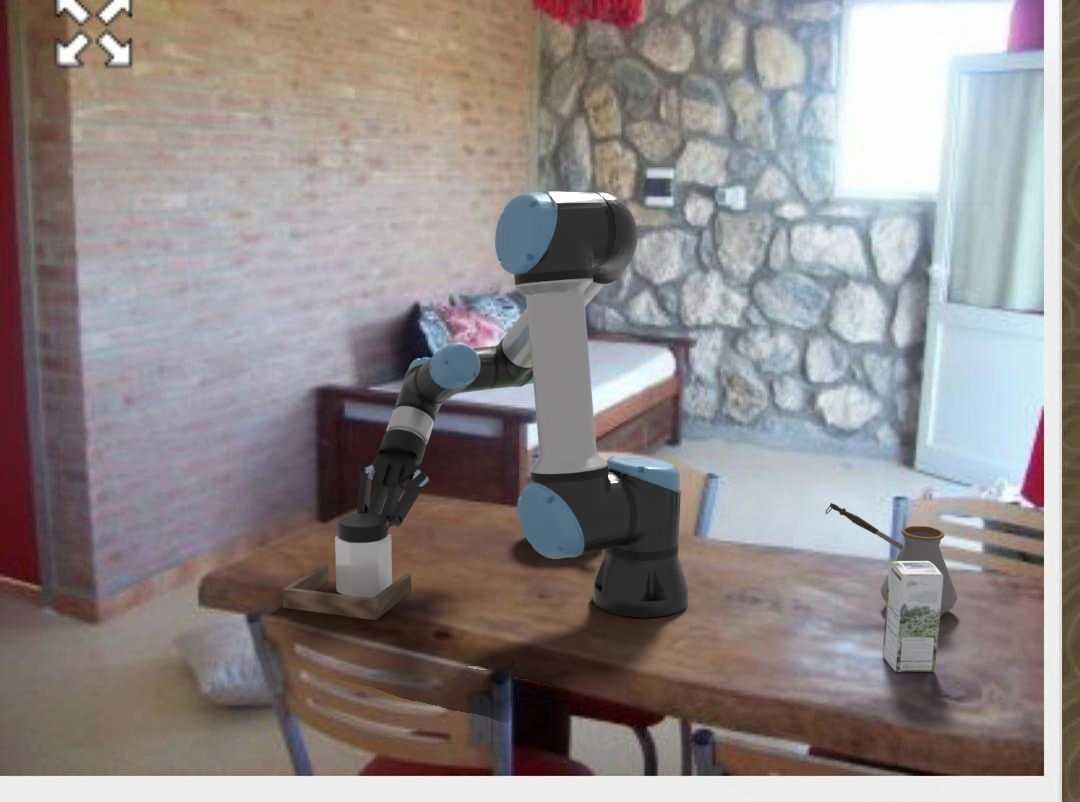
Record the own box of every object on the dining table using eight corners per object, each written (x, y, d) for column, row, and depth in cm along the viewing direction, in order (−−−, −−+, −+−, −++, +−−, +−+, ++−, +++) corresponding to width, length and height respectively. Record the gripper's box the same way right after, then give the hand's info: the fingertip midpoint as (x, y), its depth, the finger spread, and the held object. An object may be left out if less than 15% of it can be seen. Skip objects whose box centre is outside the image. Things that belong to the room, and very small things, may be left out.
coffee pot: (964, 607, 188) (972, 516, 185) (943, 630, 178) (950, 534, 176) (835, 580, 200) (840, 494, 197) (808, 600, 190) (813, 510, 187)
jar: (400, 592, 193) (399, 521, 190) (357, 604, 188) (355, 531, 185) (371, 577, 199) (369, 509, 197) (328, 588, 194) (326, 518, 192)
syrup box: (921, 656, 169) (928, 558, 166) (936, 673, 163) (944, 572, 160) (881, 656, 168) (888, 558, 166) (895, 674, 163) (902, 573, 160)
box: (411, 592, 193) (411, 574, 192) (376, 620, 181) (375, 601, 180) (323, 581, 198) (322, 563, 197) (283, 607, 186) (282, 589, 185)
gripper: (446, 453, 208) (407, 574, 196) (379, 447, 212) (337, 565, 200) (434, 429, 202) (393, 553, 190) (365, 424, 206) (320, 544, 194)
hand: (364, 559), depth 195 cm, fingers closed
